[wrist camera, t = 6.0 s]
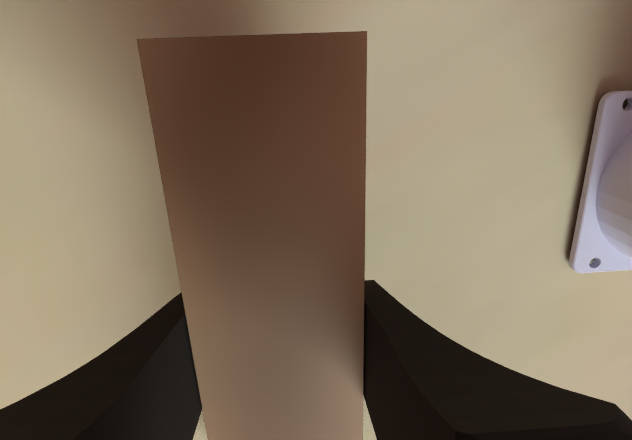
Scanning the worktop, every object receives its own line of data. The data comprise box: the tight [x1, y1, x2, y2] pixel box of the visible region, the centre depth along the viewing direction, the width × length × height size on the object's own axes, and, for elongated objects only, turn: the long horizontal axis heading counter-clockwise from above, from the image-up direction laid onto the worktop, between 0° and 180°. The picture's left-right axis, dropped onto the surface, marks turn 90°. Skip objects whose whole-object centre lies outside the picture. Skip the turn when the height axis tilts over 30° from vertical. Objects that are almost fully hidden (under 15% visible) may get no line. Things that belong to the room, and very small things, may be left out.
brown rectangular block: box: [137, 31, 367, 440], centre depth 12 cm, size 5×18×4 cm, turn 2°
